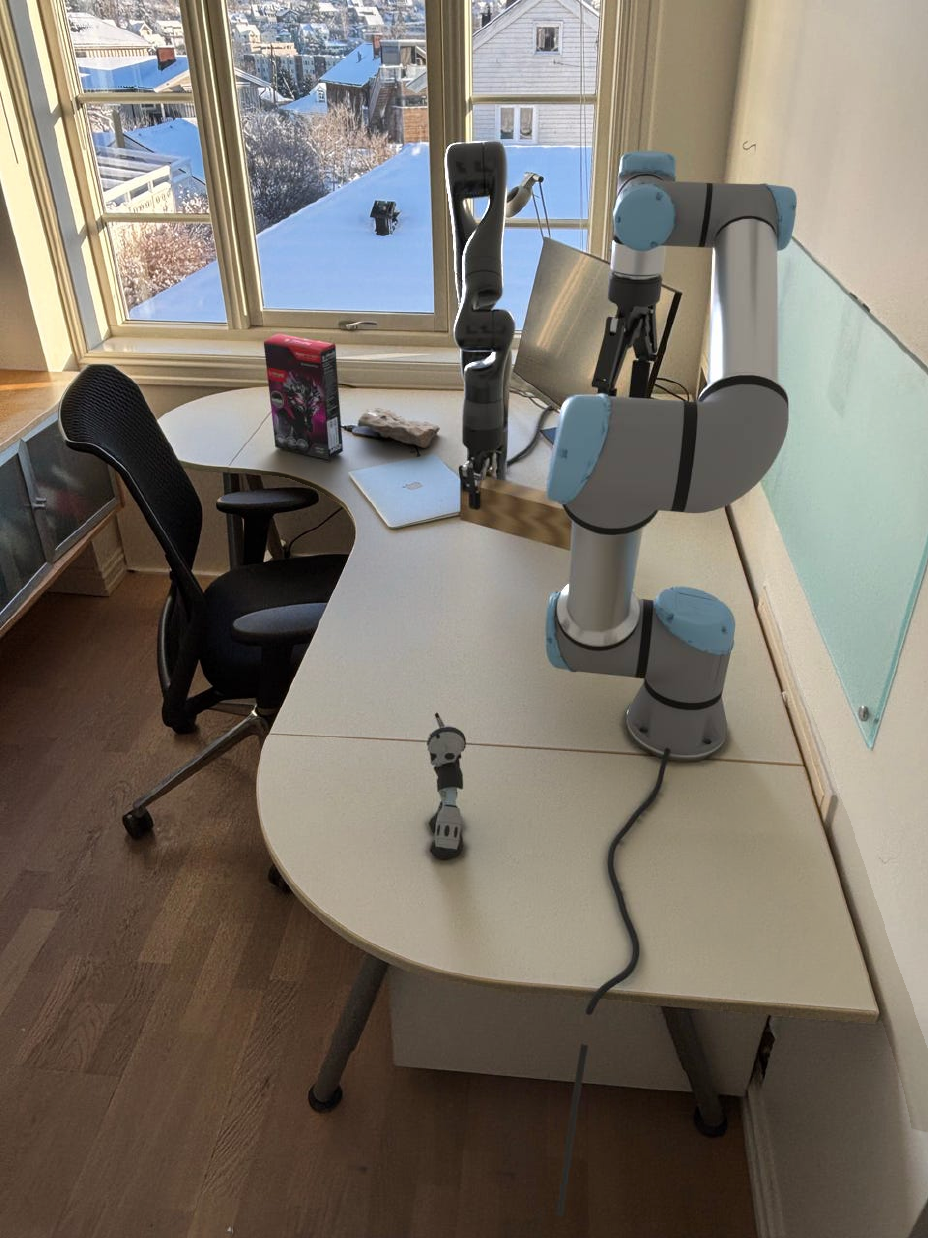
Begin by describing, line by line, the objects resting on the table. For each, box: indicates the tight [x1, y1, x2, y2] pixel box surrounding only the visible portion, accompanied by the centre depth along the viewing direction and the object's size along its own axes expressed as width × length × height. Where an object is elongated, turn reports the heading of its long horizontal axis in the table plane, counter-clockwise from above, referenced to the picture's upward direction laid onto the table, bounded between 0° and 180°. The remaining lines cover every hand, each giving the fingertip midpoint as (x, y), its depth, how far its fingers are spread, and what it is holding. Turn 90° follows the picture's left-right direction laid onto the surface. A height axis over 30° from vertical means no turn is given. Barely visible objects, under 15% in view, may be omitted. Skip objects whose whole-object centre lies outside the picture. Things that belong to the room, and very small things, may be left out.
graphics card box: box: [263, 333, 344, 460], centre depth 223 cm, size 17×7×27 cm, turn 62°
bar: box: [459, 473, 572, 552], centre depth 175 cm, size 25×5×8 cm, turn 60°
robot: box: [426, 712, 467, 861], centre depth 119 cm, size 20×5×20 cm, turn 3°
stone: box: [357, 407, 441, 449], centre depth 236 cm, size 21×15×6 cm
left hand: (481, 502), depth 179 cm, fingers closed on bar, 4 cm apart
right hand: (620, 415), depth 143 cm, fingers open, 13 cm apart
